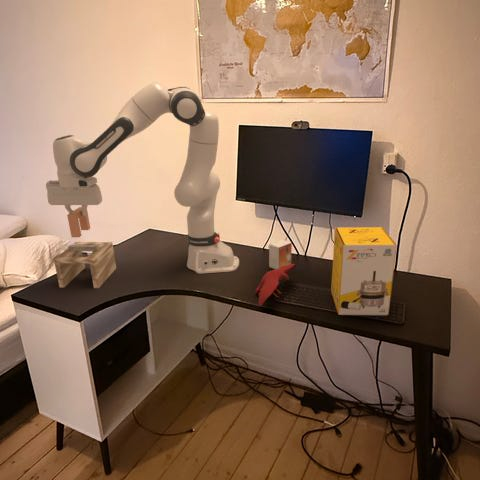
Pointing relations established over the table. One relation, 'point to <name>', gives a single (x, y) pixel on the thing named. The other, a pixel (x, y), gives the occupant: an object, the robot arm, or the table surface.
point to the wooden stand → (74, 261)
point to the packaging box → (362, 270)
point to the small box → (280, 254)
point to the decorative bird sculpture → (272, 282)
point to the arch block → (75, 222)
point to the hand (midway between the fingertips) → (77, 215)
